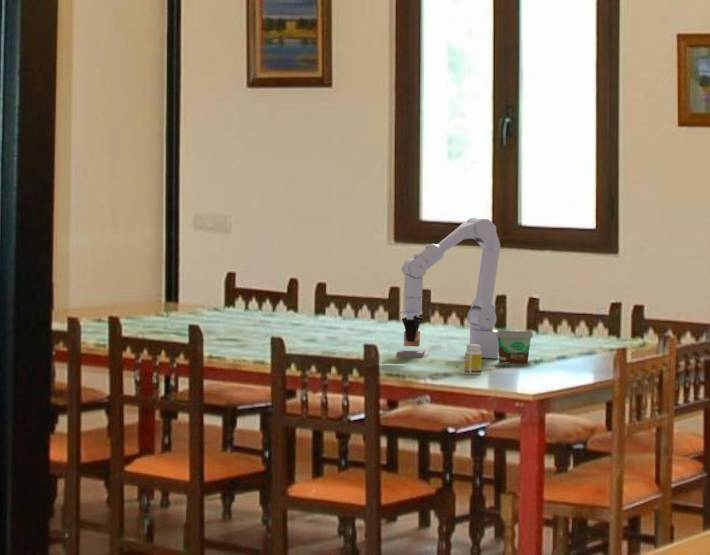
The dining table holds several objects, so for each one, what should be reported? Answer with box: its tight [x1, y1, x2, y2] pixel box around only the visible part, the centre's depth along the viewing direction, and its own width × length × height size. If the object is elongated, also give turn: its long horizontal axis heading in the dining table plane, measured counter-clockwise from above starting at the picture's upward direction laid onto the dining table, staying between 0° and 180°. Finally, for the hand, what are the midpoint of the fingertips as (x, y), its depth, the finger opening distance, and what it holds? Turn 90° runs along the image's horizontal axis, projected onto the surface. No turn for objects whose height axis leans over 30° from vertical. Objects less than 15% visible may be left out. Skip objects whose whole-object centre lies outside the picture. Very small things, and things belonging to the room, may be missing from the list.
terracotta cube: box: [403, 330, 421, 347], centre depth 434 cm, size 4×4×4 cm
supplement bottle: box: [464, 343, 483, 376], centre depth 401 cm, size 5×5×8 cm
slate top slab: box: [396, 348, 426, 359], centre depth 434 cm, size 8×8×2 cm
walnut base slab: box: [394, 353, 429, 359], centre depth 434 cm, size 10×10×2 cm
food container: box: [496, 328, 534, 364], centre depth 430 cm, size 12×6×10 cm, turn 114°
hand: (411, 340), depth 434 cm, fingers closed on terracotta cube, 4 cm apart
